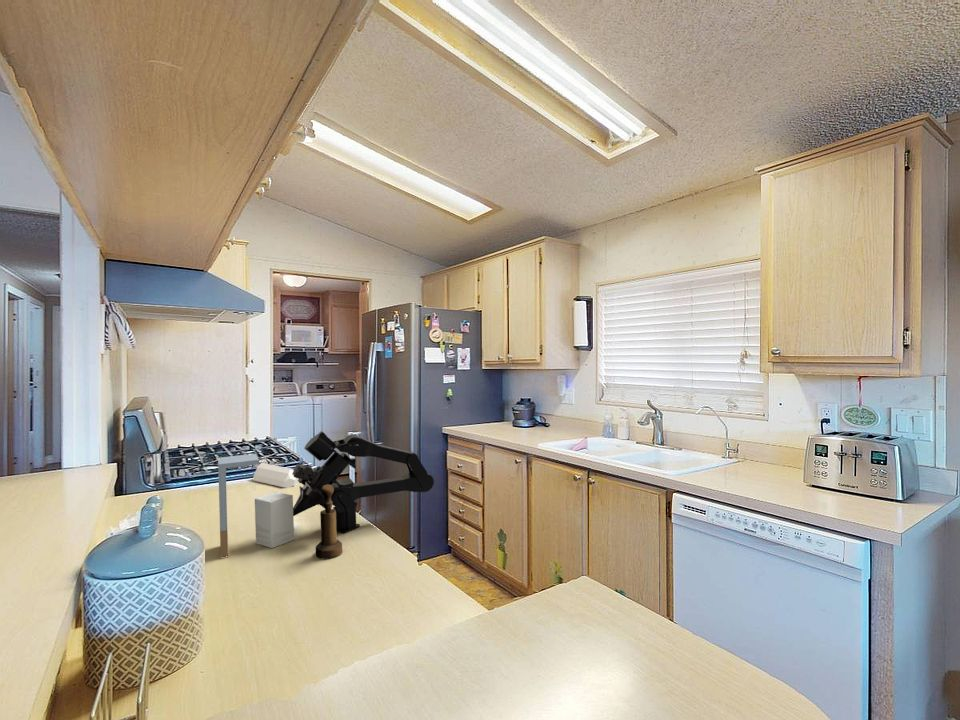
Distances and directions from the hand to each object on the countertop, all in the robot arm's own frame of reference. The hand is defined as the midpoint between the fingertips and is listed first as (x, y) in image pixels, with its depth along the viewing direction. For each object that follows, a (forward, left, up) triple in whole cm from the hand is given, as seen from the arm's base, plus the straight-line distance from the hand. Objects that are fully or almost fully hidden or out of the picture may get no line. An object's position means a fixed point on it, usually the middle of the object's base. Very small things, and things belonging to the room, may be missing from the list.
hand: (291, 514), depth 136 cm
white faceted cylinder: (+55, -36, -7) cm, 66 cm away
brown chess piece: (-18, +2, -7) cm, 19 cm away
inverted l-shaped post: (+6, +11, -7) cm, 15 cm away
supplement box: (+2, +4, -7) cm, 8 cm away
